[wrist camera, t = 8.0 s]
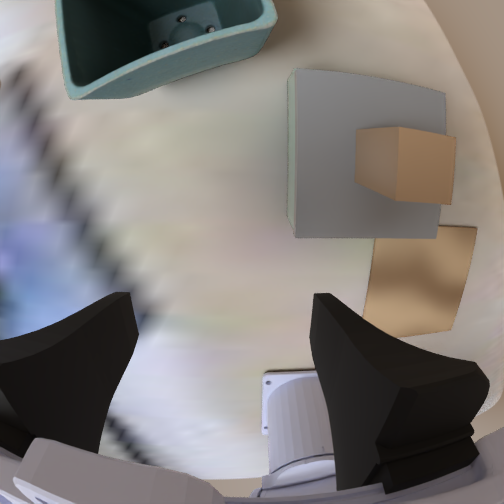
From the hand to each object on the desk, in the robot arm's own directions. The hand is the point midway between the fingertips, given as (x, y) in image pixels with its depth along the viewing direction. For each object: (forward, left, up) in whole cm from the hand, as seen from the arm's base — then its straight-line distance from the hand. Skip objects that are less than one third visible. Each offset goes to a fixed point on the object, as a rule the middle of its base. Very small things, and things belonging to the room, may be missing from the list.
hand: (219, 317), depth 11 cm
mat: (-4, -15, -10) cm, 18 cm away
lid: (+6, -8, -6) cm, 12 cm away
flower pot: (+14, +3, -10) cm, 18 cm away
